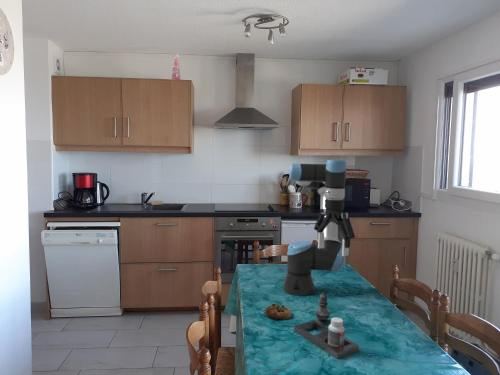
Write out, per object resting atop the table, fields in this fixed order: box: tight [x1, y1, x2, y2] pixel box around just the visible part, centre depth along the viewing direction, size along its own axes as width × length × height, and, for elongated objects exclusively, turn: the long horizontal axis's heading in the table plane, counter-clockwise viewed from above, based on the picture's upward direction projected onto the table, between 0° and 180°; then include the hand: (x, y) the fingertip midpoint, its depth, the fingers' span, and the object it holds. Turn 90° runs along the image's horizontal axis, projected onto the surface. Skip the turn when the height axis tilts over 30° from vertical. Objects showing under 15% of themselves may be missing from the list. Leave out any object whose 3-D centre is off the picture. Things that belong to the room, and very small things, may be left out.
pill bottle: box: [328, 316, 346, 349], centre depth 127 cm, size 5×5×10 cm
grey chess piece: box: [314, 291, 331, 326], centre depth 147 cm, size 6×6×12 cm
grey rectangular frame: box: [293, 319, 360, 360], centre depth 132 cm, size 22×10×2 cm, turn 32°
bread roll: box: [264, 303, 292, 321], centre depth 153 cm, size 11×11×5 cm
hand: (332, 251), depth 150 cm, fingers open, 13 cm apart
